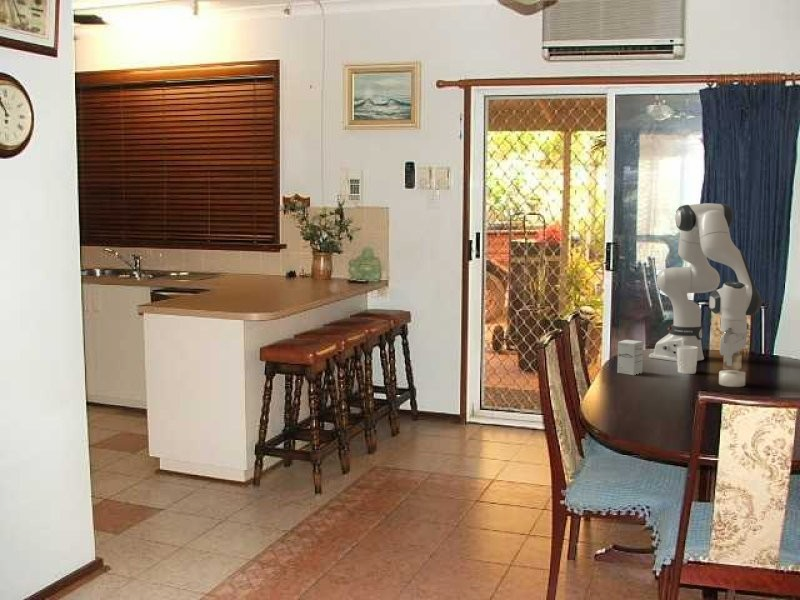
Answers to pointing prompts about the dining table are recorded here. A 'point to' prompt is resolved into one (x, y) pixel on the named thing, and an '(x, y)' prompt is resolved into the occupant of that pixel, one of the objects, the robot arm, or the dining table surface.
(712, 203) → the robot arm
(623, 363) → the supplement box
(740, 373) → the white rounded lump
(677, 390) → the dining table surface
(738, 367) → the beech block
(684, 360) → the white cup
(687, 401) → the dining table surface
